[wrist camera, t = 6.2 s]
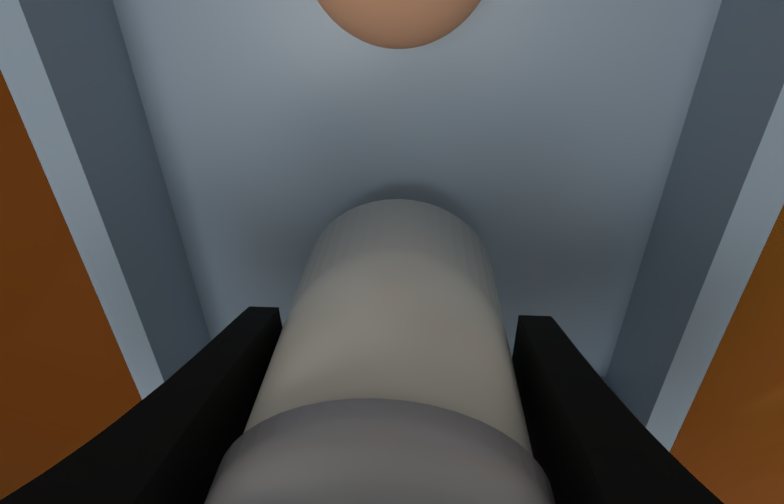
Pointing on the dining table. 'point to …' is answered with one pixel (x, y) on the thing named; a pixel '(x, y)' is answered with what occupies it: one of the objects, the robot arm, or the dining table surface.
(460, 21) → the ball
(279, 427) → the shaker
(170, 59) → the tray
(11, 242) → the dining table surface
